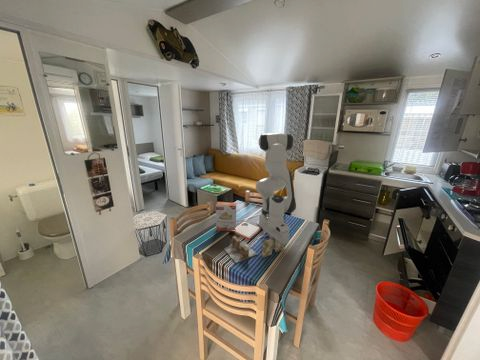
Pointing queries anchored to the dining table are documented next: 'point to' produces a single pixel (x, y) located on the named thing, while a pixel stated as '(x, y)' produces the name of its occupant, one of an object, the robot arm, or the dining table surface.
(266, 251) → the beige irregular flat piece
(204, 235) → the dining table surface
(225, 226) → the cracker box
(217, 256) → the dining table surface
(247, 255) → the jig
